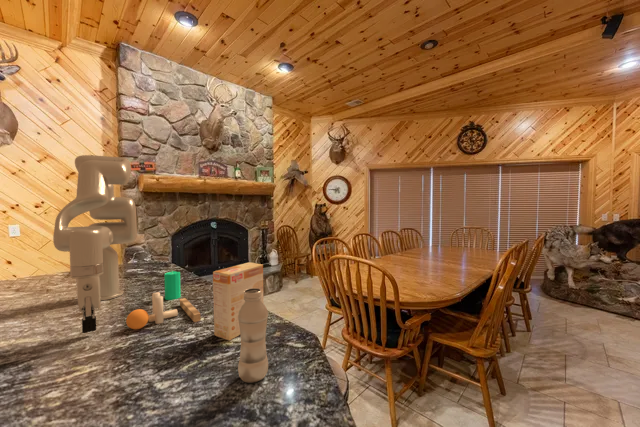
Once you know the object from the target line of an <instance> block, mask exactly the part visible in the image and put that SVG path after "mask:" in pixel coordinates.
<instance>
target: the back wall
mask: <svg viewBox="0 0 640 427" xmlns="http://www.w3.org/2000/svg"><path fill="white" fill-rule="evenodd" d="M179 306H180V307H181V309H182V310H183V311H184V313H186V315H187V316H188V317H189V318H190V319H191V321H193V323H197V322H201V313H200V311H199V310H198V309H197V308H196V307H195V306H194V305H193V304H192V303H191V302H190V301H189V300H188V299H187V298H185V297H183V298H179Z"/></svg>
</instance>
